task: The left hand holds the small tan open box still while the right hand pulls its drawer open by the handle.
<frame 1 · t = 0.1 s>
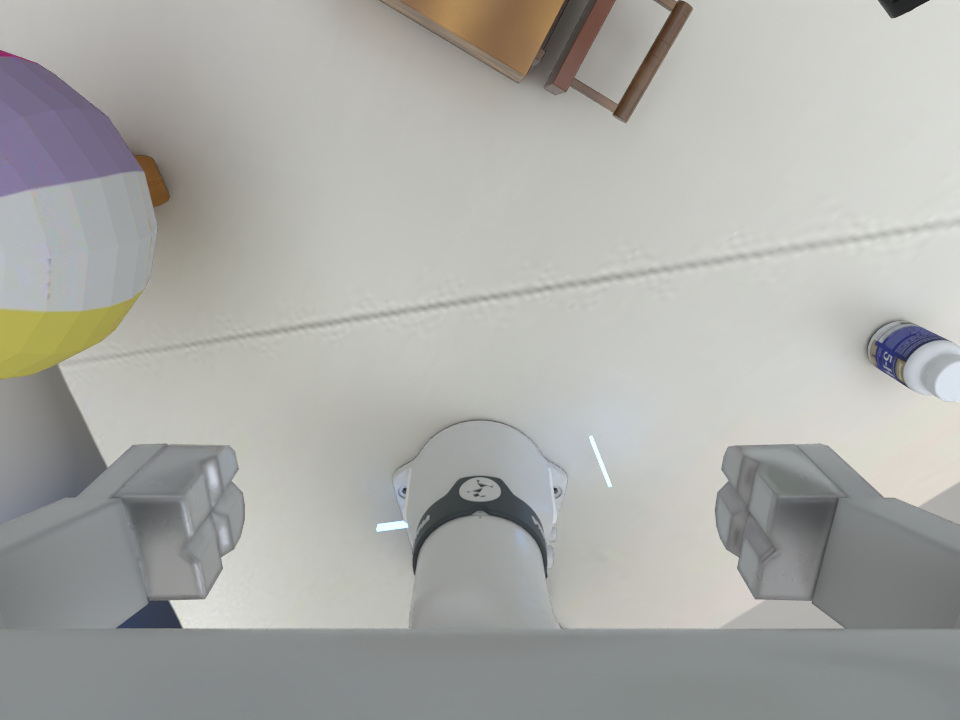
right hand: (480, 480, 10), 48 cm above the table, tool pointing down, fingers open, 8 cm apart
toy: (147, 182, 55), on the table
pill bottle: (891, 344, 60), on the table
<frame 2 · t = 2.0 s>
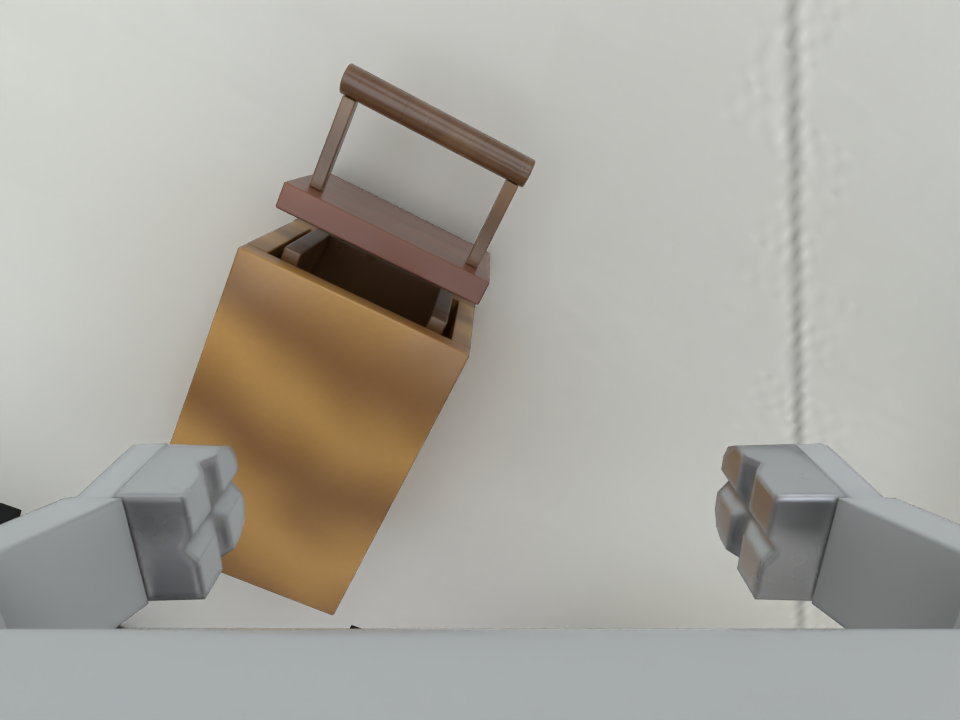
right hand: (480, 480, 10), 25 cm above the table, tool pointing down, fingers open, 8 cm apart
drawer: (360, 312, 31), point 4 cm above the table, slide at 2.0 cm
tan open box: (334, 383, 37), on the table
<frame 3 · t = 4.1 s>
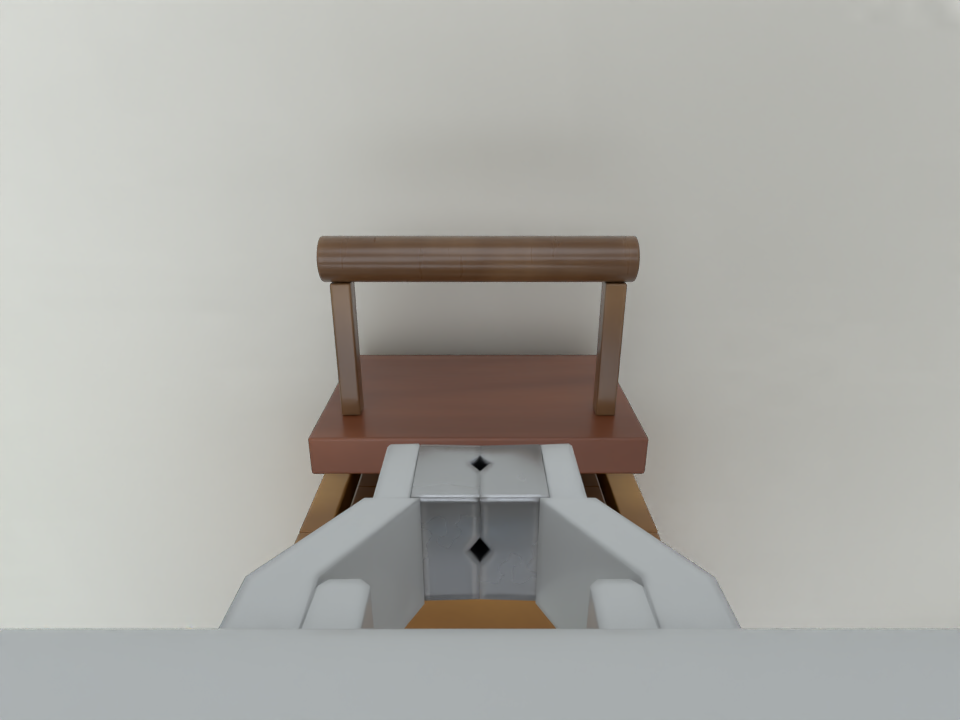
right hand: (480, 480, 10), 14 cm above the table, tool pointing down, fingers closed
drawer: (478, 517, 22), point 4 cm above the table, slide at 2.0 cm
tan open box: (478, 576, 29), on the table, touching left hand
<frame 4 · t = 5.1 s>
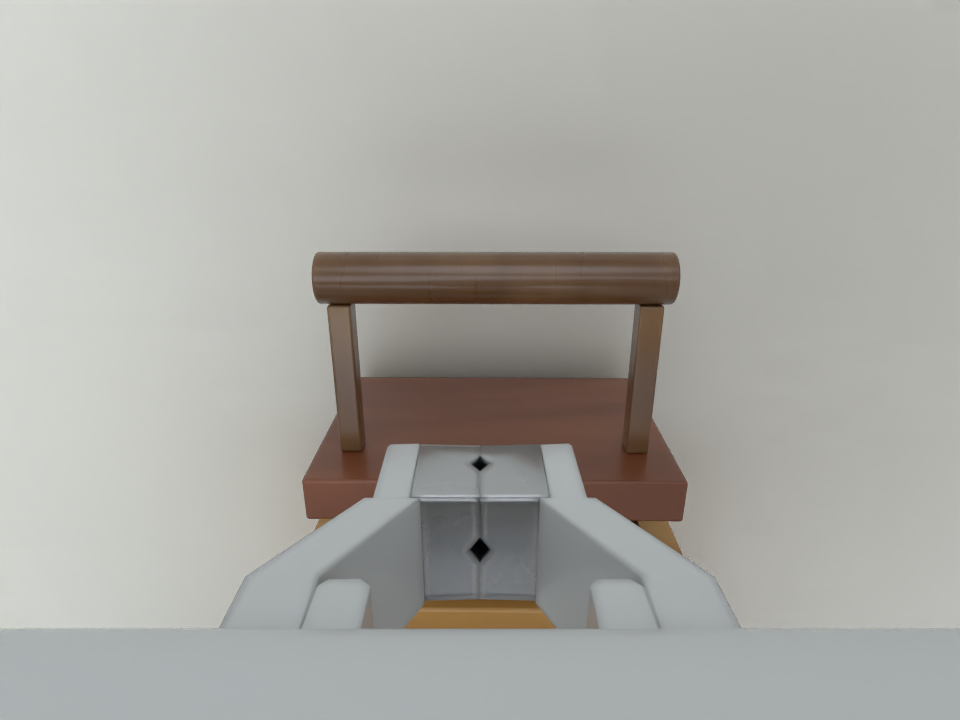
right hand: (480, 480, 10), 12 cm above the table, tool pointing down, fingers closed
drawer: (492, 557, 20), point 4 cm above the table, slide at 2.0 cm
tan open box: (490, 612, 27), on the table, touching left hand
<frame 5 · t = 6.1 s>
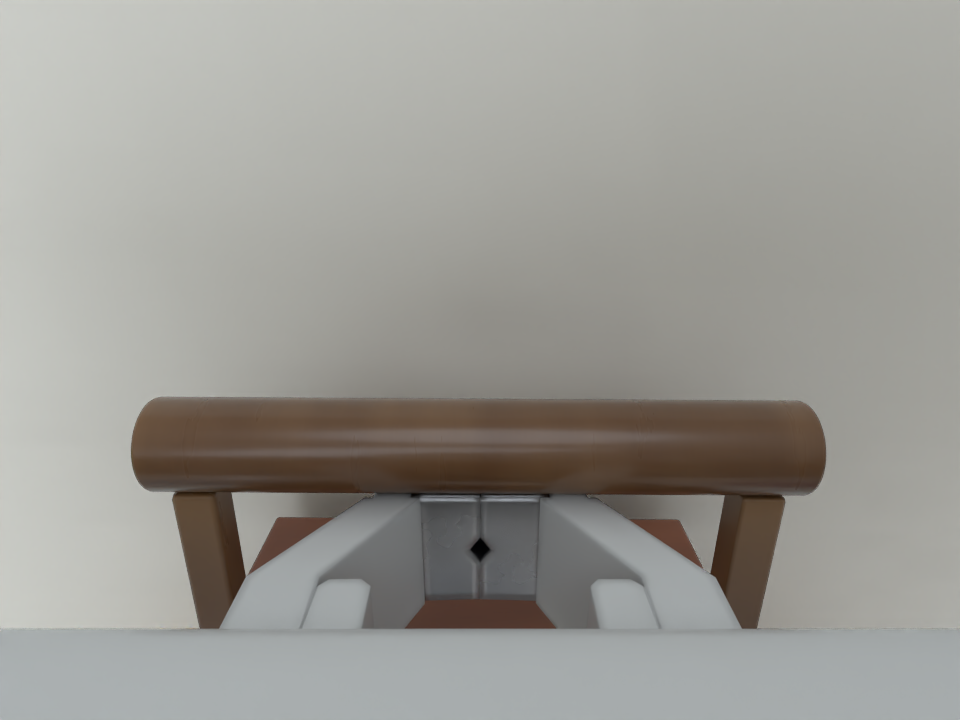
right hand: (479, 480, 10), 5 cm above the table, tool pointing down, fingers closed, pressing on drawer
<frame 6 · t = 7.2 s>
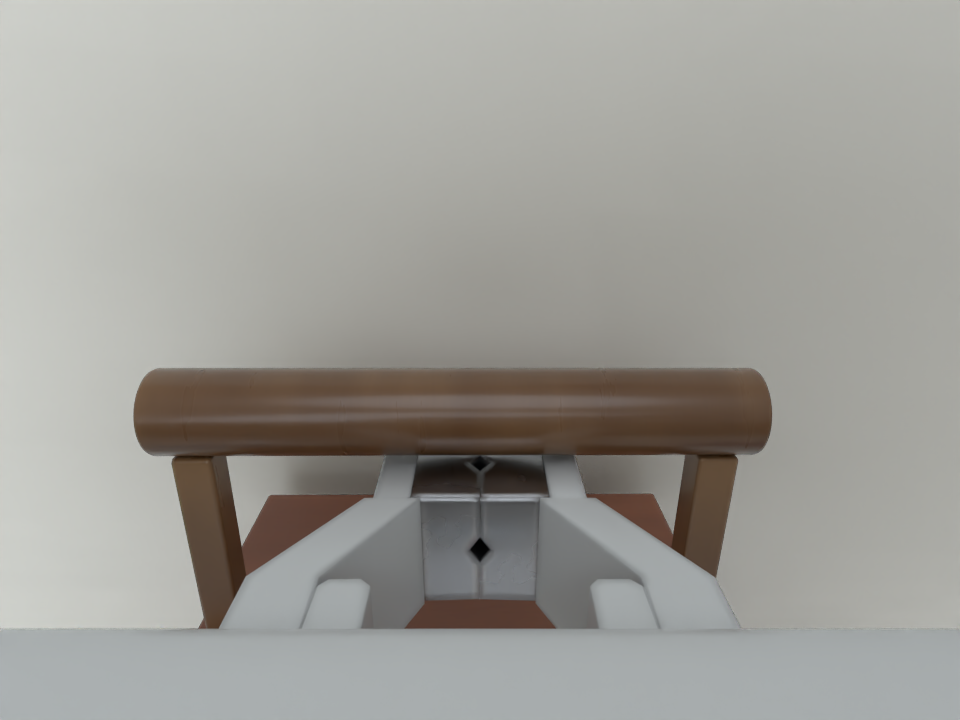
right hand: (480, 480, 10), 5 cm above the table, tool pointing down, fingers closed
when the left hand's fingers open (4 cm above the table, at t = 8.5 s): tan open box stays where it is, on the table.
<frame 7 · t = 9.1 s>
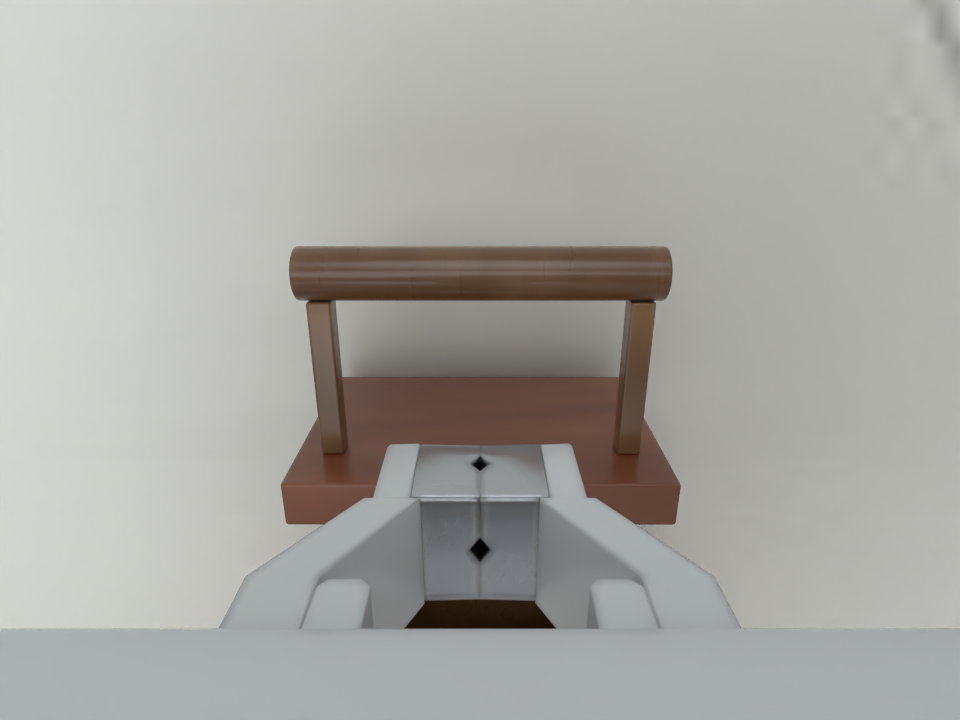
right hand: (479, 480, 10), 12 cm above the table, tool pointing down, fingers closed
drawer: (480, 561, 20), point 4 cm above the table, slide at 7.3 cm
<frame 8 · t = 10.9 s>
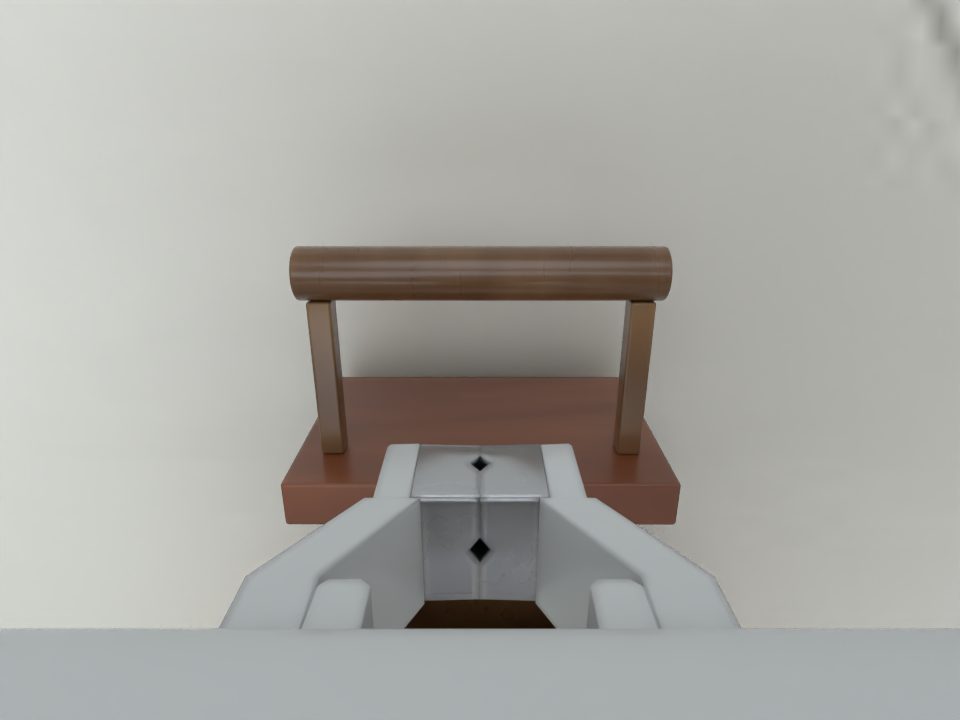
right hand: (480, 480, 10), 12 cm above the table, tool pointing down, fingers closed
drawer: (480, 561, 20), point 4 cm above the table, slide at 7.3 cm
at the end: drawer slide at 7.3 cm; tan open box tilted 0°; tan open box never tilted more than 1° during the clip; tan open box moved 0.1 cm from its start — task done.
